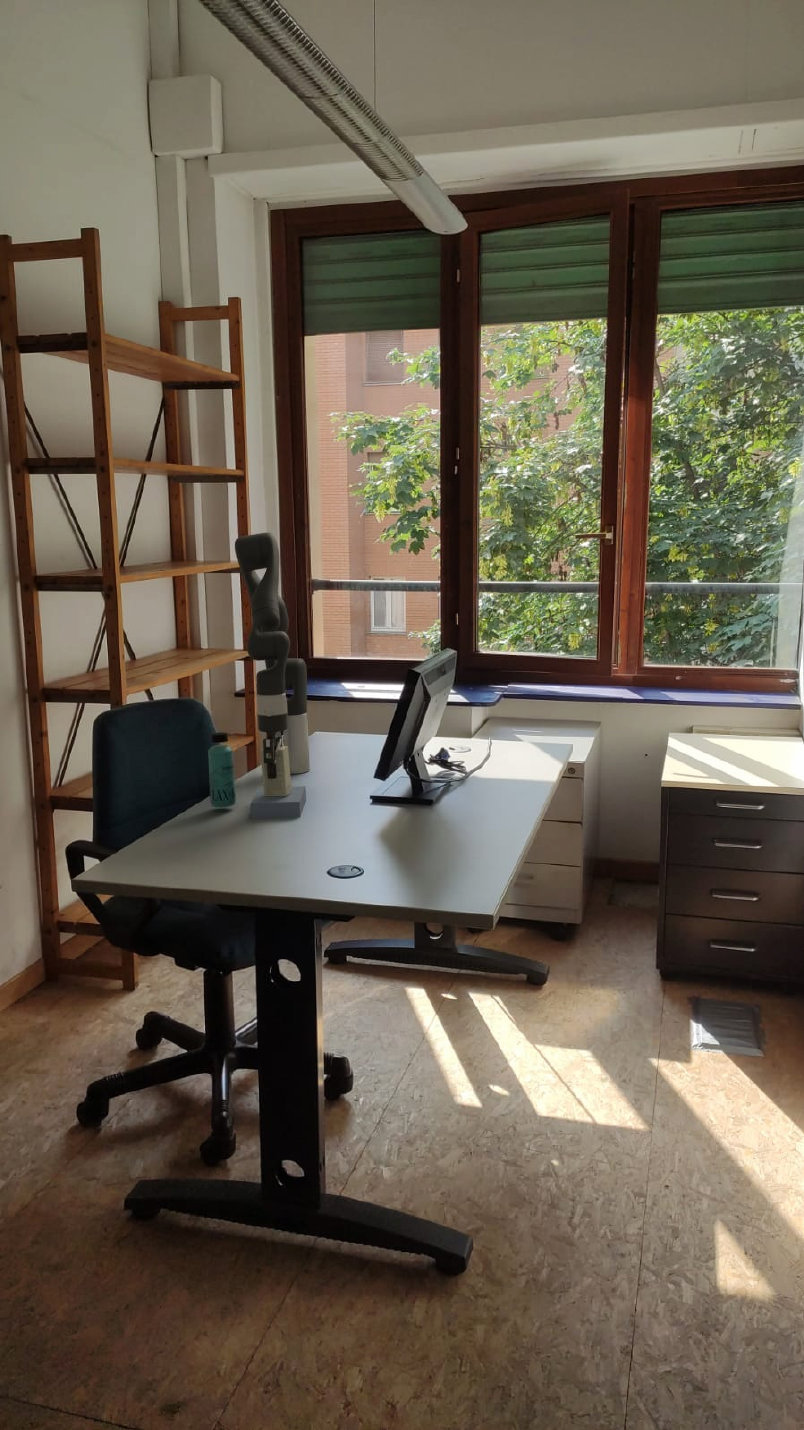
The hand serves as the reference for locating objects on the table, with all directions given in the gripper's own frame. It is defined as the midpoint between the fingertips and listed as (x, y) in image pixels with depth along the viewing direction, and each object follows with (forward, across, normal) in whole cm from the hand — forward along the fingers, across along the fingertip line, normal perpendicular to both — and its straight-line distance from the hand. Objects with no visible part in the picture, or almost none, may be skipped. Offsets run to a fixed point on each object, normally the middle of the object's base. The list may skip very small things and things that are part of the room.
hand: (275, 774), depth 266 cm
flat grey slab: (+10, 0, 0) cm, 10 cm away
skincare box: (+6, 0, 0) cm, 6 cm away
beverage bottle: (+9, 0, -14) cm, 17 cm away
